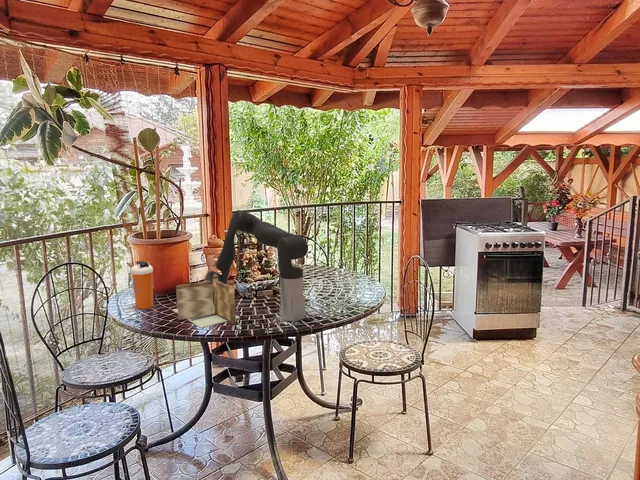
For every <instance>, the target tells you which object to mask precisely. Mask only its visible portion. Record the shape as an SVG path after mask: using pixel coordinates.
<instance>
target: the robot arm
mask: <svg viewBox="0 0 640 480" xmlns="http://www.w3.org/2000/svg"><path fill="white" fill-rule="evenodd" d="M238 231H239V232H243V233H245V234H249V235H250V234H251V235H252V236H254V238H255V239H256V241H258V242H259V243H260V244H263V245H265V246H266V247H267V246H268V247H270V248H276V253H277V267H278V271H279V273H280V283H279V291H280V292H279V293H280V296H279V297H280V318H281V320H282V321H286V322H292V323H295V322H299V321H302V320H305V319H306V297H305V296H306V295H304V270H303V269H302V268H301V267H299V266H295V265H293V260H299V259H302V258H304V257H306V256H307V254H308V251H309V245H308V243H307V241H306V239H304V238H303V236H301V235H298V234H294V233H292V232H288V231H286V230H284V229H282V228H280V227H278V226H276V225H274V224H272V223H270V222H267V221H263V220H261V219H260V218H258V217H257V216H256V215H255V214H252V213H250V212H246V211H243V210H240V209H239V210H236V211H234V213H233V214H232V216H231V218H230V221H229V225H228V228H227V232H226V235H225V238H224V239H225V240H224V242H223V244H222V245H223V246H222V249H221V251H220V254H219V255H218V257H217V260H216V262H215V268H216V269H217V270H219V272H221V273H219V272H217V271H213V270H211V271H209V272H207V274H206V276H205V278H204V280H203V281H201V282H207V281H212V290H213V278H212V276H213V274H217V275H218V281H220V282H222V283H225V284H227V285H228V281H229V274H230V269H231V267H232V265H233V263H234V261H235V258H236V245H235V237H236V234H237V233H238Z"/></svg>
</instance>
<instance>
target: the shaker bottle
mask: <svg viewBox="0 0 640 480" xmlns="http://www.w3.org/2000/svg"><path fill="white" fill-rule="evenodd" d="M135 264H136V265H135ZM135 264H134V265H133V266H132V267H131V269H130V274H131V279H132V286H133V293H134V301H135V307H136V309H138V310H147V309H151V308H153V307H154V281H153V278H154V277H153V272H154V267H153V265H151V264H150V263H149V262H146V261H143V260H138V261H135Z"/></svg>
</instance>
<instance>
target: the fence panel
mask: <svg viewBox="0 0 640 480" xmlns="http://www.w3.org/2000/svg"><path fill="white" fill-rule="evenodd" d="M175 290H176V291H175V293H176V304H177V305H176V306H177V308H178V314H177V319H178V320H179V321H180V320H187V319H186V318H192V317H198V316H204V315H210V314H214V309H213V304H214V295H213V290H212V281H207V282H202V281H200V282H194V283H187V284H186V283H184V284H179V285H175ZM177 308H176V309H177Z"/></svg>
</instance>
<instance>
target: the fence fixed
mask: <svg viewBox="0 0 640 480" xmlns="http://www.w3.org/2000/svg"><path fill="white" fill-rule="evenodd" d="M212 278H213V304H214V313H215V315H218V314H219V315H220V316H222V317H224V318H226V319H228V320H230V321H229V324H231V325H234V324H236V323H237V322H236V320H237V319H236V297H235V296H236V295H235V281H234V280H233V279H228V282H227V284H225V283H222V282H220V281H218V275H217V274H213V276H212Z"/></svg>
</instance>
